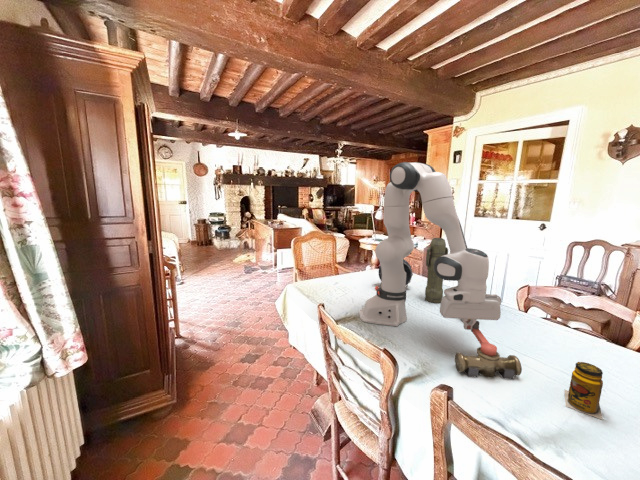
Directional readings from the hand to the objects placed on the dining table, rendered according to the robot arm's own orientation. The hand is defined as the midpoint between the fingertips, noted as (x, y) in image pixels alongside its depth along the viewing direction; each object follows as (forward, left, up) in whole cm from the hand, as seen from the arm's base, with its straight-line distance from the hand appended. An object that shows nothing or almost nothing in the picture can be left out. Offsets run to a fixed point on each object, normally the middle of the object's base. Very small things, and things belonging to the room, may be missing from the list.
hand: (467, 328), depth 99 cm
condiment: (+21, -24, -9) cm, 33 cm away
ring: (-14, +67, -9) cm, 69 cm away
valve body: (+1, -12, -9) cm, 15 cm away
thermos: (+4, +49, -9) cm, 50 cm away
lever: (+2, -6, -1) cm, 7 cm away
